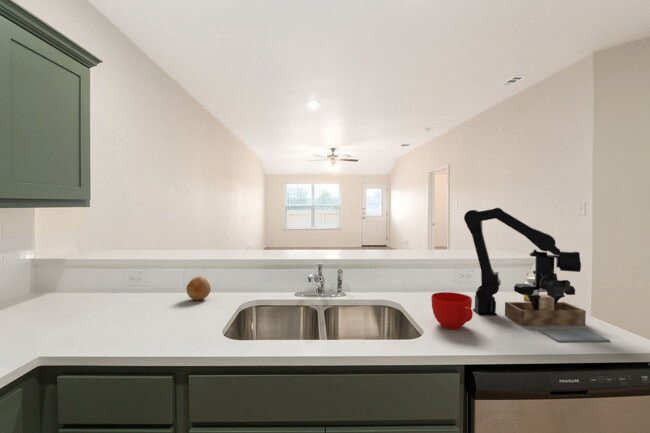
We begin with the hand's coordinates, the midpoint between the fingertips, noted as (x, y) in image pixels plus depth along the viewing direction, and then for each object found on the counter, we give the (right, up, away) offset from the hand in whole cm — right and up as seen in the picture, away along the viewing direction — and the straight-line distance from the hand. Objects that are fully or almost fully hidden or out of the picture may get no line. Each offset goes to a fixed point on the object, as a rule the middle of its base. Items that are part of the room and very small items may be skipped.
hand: (543, 313), depth 129 cm
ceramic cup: (-34, -3, -8) cm, 35 cm away
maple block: (0, -2, 0) cm, 2 cm away
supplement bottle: (+9, -2, +23) cm, 25 cm away
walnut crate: (0, -3, 0) cm, 2 cm away
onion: (-132, -2, +28) cm, 135 cm away
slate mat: (0, -3, -15) cm, 15 cm away
